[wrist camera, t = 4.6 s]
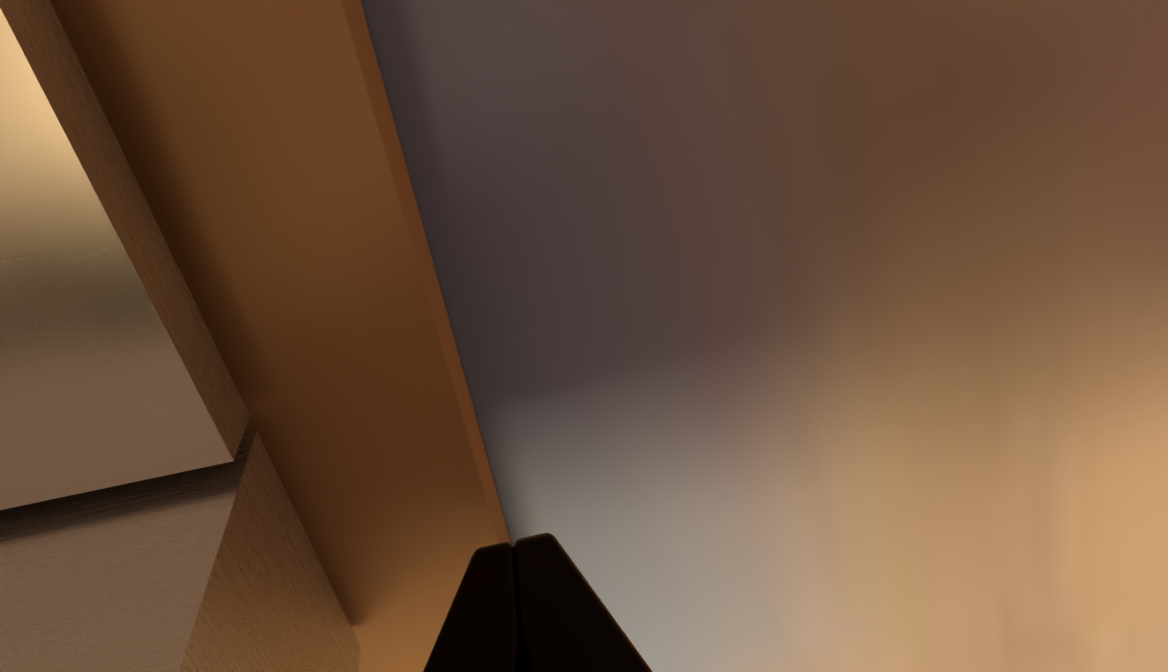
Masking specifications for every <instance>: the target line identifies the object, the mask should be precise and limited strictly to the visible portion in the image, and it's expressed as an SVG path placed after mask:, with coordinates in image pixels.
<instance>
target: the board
mask: <svg viewBox="0 0 1168 672" xmlns="http://www.w3.org/2000/svg"><path fill="white" fill-rule="evenodd" d="M50 1H51V3H52V5H53V7H54V9H55V12H56V14H57V16H58V18H59V20H60V22H61V24H62V26H63V28H64V30H65V32H66V34H67V37H68V39H69V41H70V43H71V45H72V47H73V49H74V51H75V53H76V55H77V57H78V59H79V62H80V64H81V66H82V68H83V70H84V72H85V74H86V76H87V78H88V80H89V82H90V84H91V87H92V89H93V91H94V93H95V95H96V97H97V99H98V101H99V103H100V105H101V107H102V109H103V112H104V114H105V116H106V118H107V120H108V122H109V124H110V126H111V128H112V130H113V132H114V134H115V137H116V139H117V141H118V143H119V145H120V147H121V149H122V151H123V153H124V155H125V157H126V159H127V162H128V164H129V166H130V168H131V170H132V172H133V174H134V176H135V178H136V180H137V182H138V184H139V187H140V189H141V191H142V193H143V195H144V197H145V199H146V201H147V203H148V205H149V207H150V209H151V212H152V214H153V216H154V218H155V220H156V222H157V224H158V226H159V228H160V230H161V232H162V234H163V237H164V239H165V241H166V243H167V245H168V247H169V249H170V251H171V253H172V255H173V257H174V259H175V262H176V264H177V266H178V268H179V270H180V272H181V274H182V276H183V278H184V280H185V282H186V284H187V287H188V289H189V291H190V293H191V295H192V297H193V299H194V301H195V303H196V305H197V307H198V309H199V312H200V314H201V316H202V318H203V320H204V322H205V324H206V326H207V328H208V330H209V332H210V334H211V337H212V339H213V341H214V343H215V345H216V347H217V349H218V351H219V353H220V355H221V357H222V359H223V362H224V364H225V366H226V368H227V370H228V372H229V374H230V376H231V378H232V380H233V382H234V384H235V387H236V389H237V391H238V393H239V395H240V397H241V399H242V401H243V403H244V405H245V407H246V409H247V412H248V414H249V419H248V422H247V425H246V427H245V430H244V433H243V434H245V433H250V432H255V431H257V432H258V434H259V437H260V439H261V441H262V443H263V445H264V447H265V449H266V451H267V453H268V455H269V457H270V459H271V462H272V464H273V466H274V468H275V470H276V472H277V474H278V476H279V478H280V480H281V482H282V485H283V487H284V489H285V491H286V493H287V495H288V497H289V499H290V501H291V503H292V505H293V507H294V510H295V512H296V514H297V516H298V518H299V520H300V522H301V524H302V526H303V528H304V530H305V532H306V535H307V537H308V539H309V541H310V543H311V545H312V547H313V549H314V551H315V553H316V555H317V557H318V560H319V562H320V564H321V566H322V568H323V570H324V572H325V574H326V576H327V578H328V580H329V582H330V585H331V587H332V589H333V591H334V593H335V595H336V597H337V599H338V601H339V603H340V605H341V607H342V610H343V612H344V614H345V616H346V618H347V620H348V622H349V624H350V626H351V628H352V630H353V632H354V635H355V637H356V639H357V641H358V643H359V645H360V647H361V652H360V662H359V672H423V670H424V668H425V666H426V663H427V661H428V659H429V656H430V654H431V651H432V649H433V647H434V644H435V642H436V640H437V637H438V635H439V633H440V630H441V628H442V625H443V623H444V621H445V618H446V616H447V614H448V611H449V609H450V607H451V604H452V602H453V600H454V597H455V595H456V592H457V590H458V588H459V585H460V583H461V581H462V578H463V576H464V574H465V571H466V569H467V566H468V564H469V562H470V559H471V557H472V555H473V553H474V552H475V551H476V550H477V549H478V548H481V547H485V546H490V545H494V544H499V543H503V542H510V543H511V540H510V536H509V533H508V529H507V526H506V522H505V518H504V515H503V511H502V508H501V504H500V500H499V497H498V493H497V490H496V486H495V482H494V479H493V475H492V472H491V468H490V464H489V461H488V457H487V454H486V450H485V446H484V443H483V439H482V436H481V432H480V428H479V425H478V421H477V418H476V414H475V410H474V407H473V403H472V400H471V396H470V392H469V389H468V385H467V382H466V378H465V374H464V371H463V367H462V364H461V360H460V356H459V353H458V349H457V346H456V342H455V338H454V335H453V331H452V328H451V324H450V320H449V317H448V313H447V310H446V306H445V302H444V299H443V295H442V292H441V288H440V284H439V281H438V277H437V274H436V270H435V266H434V263H433V259H432V256H431V252H430V248H429V245H428V241H427V238H426V234H425V230H424V227H423V223H422V220H421V216H420V212H419V209H418V205H417V202H416V198H415V194H414V191H413V187H412V184H411V180H410V176H409V173H408V169H407V166H406V162H405V158H404V155H403V151H402V148H401V144H400V140H399V137H398V133H397V130H396V126H395V122H394V119H393V115H392V112H391V108H390V104H389V101H388V97H387V94H386V90H385V86H384V83H383V79H382V76H381V72H380V68H379V65H378V61H377V58H376V54H375V50H374V47H373V43H372V40H371V36H370V32H369V29H368V25H367V22H366V18H365V14H364V11H363V7H362V4H361V0H50Z"/></svg>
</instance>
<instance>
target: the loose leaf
mask: <svg viewBox="0 0 1168 672" xmlns="http://www.w3.org/2000/svg"><path fill="white" fill-rule="evenodd" d="M248 419H249V414H248V412H247V409H246V407H245V405H244V403H243V401H242V399H241V397H240V395H239V393H238V391H237V389H236V387H235V384H234V382H233V380H232V378H231V376H230V374H229V372H228V370H227V368H226V366H225V364H224V362H223V359H222V357H221V355H220V353H219V351H218V349H217V347H216V345H215V343H214V341H213V339H212V337H211V334H210V332H209V330H208V328H207V326H206V324H205V322H204V320H203V318H202V316H201V314H200V312H199V309H198V307H197V305H196V303H195V301H194V299H193V297H192V295H191V293H190V291H189V289H188V287H187V284H186V282H185V280H184V278H183V276H182V274H181V272H180V270H179V268H178V266H177V264H176V262H175V259H174V257H173V255H172V253H171V251H170V249H169V247H168V245H167V243H166V241H165V239H164V237H163V234H162V232H161V230H160V228H159V226H158V224H157V222H156V220H155V218H154V216H153V214H152V212H151V209H150V207H149V205H148V203H147V201H146V199H145V197H144V195H143V193H142V191H141V189H140V187H139V184H138V182H137V180H136V178H135V176H134V174H133V172H132V170H131V168H130V166H129V164H128V162H127V159H126V157H125V155H124V153H123V151H122V149H121V147H120V145H119V143H118V141H117V139H116V137H115V134H114V132H113V130H112V128H111V126H110V124H109V122H108V120H107V118H106V116H105V114H104V112H103V109H102V107H101V105H100V103H99V101H98V99H97V97H96V95H95V93H94V91H93V89H92V87H91V84H90V82H89V80H88V78H87V76H86V74H85V72H84V70H83V68H82V66H81V64H80V62H79V59H78V57H77V55H76V53H75V51H74V49H73V47H72V45H71V43H70V41H69V39H68V37H67V34H66V32H65V30H64V28H63V26H62V24H61V22H60V20H59V18H58V16H57V14H56V12H55V9H54V7H53V5H52V3H51V1H50V0H0V672H359V662H360V652H361V647H360V645H359V643H358V641H357V639H356V637H355V635H354V632H353V630H352V628H351V626H350V624H349V622H348V620H347V618H346V616H345V614H344V612H343V610H342V607H341V605H340V603H339V601H338V599H337V597H336V595H335V593H334V591H333V589H332V587H331V585H330V582H329V580H328V578H327V576H326V574H325V572H324V570H323V568H322V566H321V564H320V562H319V560H318V557H317V555H316V553H315V551H314V549H313V547H312V545H311V543H310V541H309V539H308V537H307V535H306V532H305V530H304V528H303V526H302V524H301V522H300V520H299V518H298V516H297V514H296V512H295V510H294V507H293V505H292V503H291V501H290V499H289V497H288V495H287V493H286V491H285V489H284V487H283V485H282V482H281V480H280V478H279V476H278V474H277V472H276V470H275V468H274V466H273V464H272V462H271V459H270V457H269V455H268V453H267V451H266V449H265V447H264V445H263V443H262V441H261V439H260V437H259V434H258V432H257V431H255V432H250V433H245V434H243V433H244V430H245V427H246V425H247V422H248Z"/></svg>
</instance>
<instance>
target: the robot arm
mask: <svg viewBox="0 0 1168 672" xmlns="http://www.w3.org/2000/svg"><path fill="white" fill-rule="evenodd" d="M423 672H652V670H651V669H650V668H649V666H648V665H647V663H646V662H645V661H644V659H643V658H642V656H641V655H640V654H639V652H638V651H637V650H636V648H635V647H634V645H633V644H632V643H631V641H630V640H629V638H628V637H627V636H626V634H625V633H624V632H623V630H622V629H621V627H620V626H619V625H618V623H617V622H616V621H615V619H614V618H613V616H612V615H611V614H610V612H609V611H608V609H607V608H606V607H605V605H604V604H603V603H602V601H601V600H600V598H599V597H598V596H597V594H596V593H595V592H594V590H593V589H592V587H591V586H590V585H589V583H588V582H587V580H586V579H585V578H584V576H583V575H582V574H581V572H580V571H579V569H578V568H577V567H576V565H575V564H574V562H573V561H572V560H571V558H570V557H569V556H568V554H567V553H566V551H565V550H564V549H563V547H562V546H561V545H560V543H559V542H558V540H557V539H556V538H555V537H554V536H553V535H552V534H551V533H543V534H539V535H534V536H530V537H525V538H521V539H518V540H517V541H516V543H515V547H514V545H513V544H512V543H510V542H503V543H499V544H494V545H490V546H485V547H481V548H478V549H477V550H476V551H475V552H474V553H473V555H472V557H471V559H470V562H469V564H468V566H467V569H466V571H465V574H464V576H463V578H462V581H461V583H460V585H459V588H458V590H457V592H456V595H455V597H454V600H453V602H452V604H451V607H450V609H449V611H448V614H447V616H446V618H445V621H444V623H443V625H442V628H441V630H440V633H439V635H438V637H437V640H436V642H435V644H434V647H433V649H432V651H431V654H430V656H429V659H428V661H427V663H426V666H425V668H424V670H423Z"/></svg>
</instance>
